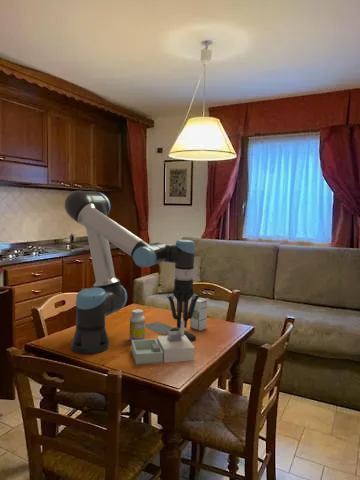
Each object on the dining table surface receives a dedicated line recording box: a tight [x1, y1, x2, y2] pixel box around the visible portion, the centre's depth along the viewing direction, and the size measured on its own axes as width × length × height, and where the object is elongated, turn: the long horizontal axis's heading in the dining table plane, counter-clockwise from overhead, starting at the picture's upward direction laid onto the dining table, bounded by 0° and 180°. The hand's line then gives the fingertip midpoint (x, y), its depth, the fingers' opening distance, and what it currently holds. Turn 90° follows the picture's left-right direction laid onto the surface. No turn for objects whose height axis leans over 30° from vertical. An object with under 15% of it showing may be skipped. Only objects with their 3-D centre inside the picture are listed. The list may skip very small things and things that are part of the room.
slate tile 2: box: [167, 331, 181, 342], centre depth 151 cm, size 4×4×2 cm
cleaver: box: [145, 321, 197, 342], centre depth 173 cm, size 30×10×2 cm, turn 46°
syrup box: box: [190, 297, 208, 332], centre depth 179 cm, size 6×6×14 cm
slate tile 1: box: [151, 344, 160, 353], centre depth 143 cm, size 4×4×2 cm
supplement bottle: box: [129, 308, 146, 342], centre depth 162 cm, size 7×7×13 cm
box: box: [130, 338, 164, 366], centre depth 145 cm, size 10×14×4 cm
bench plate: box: [156, 335, 196, 363], centre depth 148 cm, size 12×14×5 cm
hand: (181, 335), depth 152 cm, fingers closed
